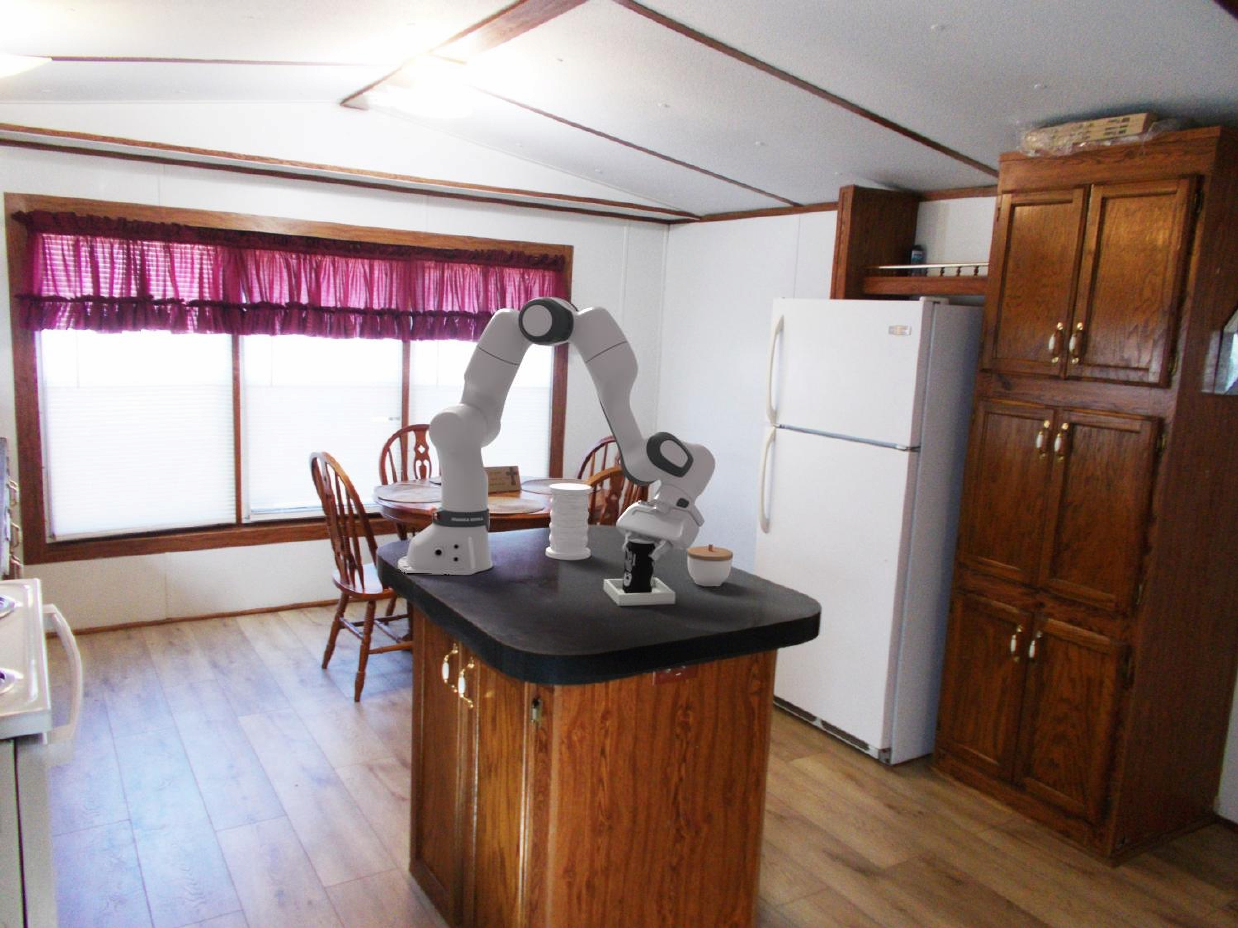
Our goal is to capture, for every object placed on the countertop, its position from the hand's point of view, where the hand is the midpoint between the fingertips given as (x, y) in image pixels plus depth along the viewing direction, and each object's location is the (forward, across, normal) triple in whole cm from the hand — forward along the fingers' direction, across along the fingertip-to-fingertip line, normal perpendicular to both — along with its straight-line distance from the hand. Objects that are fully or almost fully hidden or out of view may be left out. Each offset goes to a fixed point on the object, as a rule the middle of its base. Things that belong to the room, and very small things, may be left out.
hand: (638, 555), depth 199 cm
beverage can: (+6, 0, +6) cm, 9 cm away
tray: (+6, 0, +7) cm, 9 cm away
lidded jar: (-9, +2, +23) cm, 25 cm away
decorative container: (-3, -38, +17) cm, 42 cm away
